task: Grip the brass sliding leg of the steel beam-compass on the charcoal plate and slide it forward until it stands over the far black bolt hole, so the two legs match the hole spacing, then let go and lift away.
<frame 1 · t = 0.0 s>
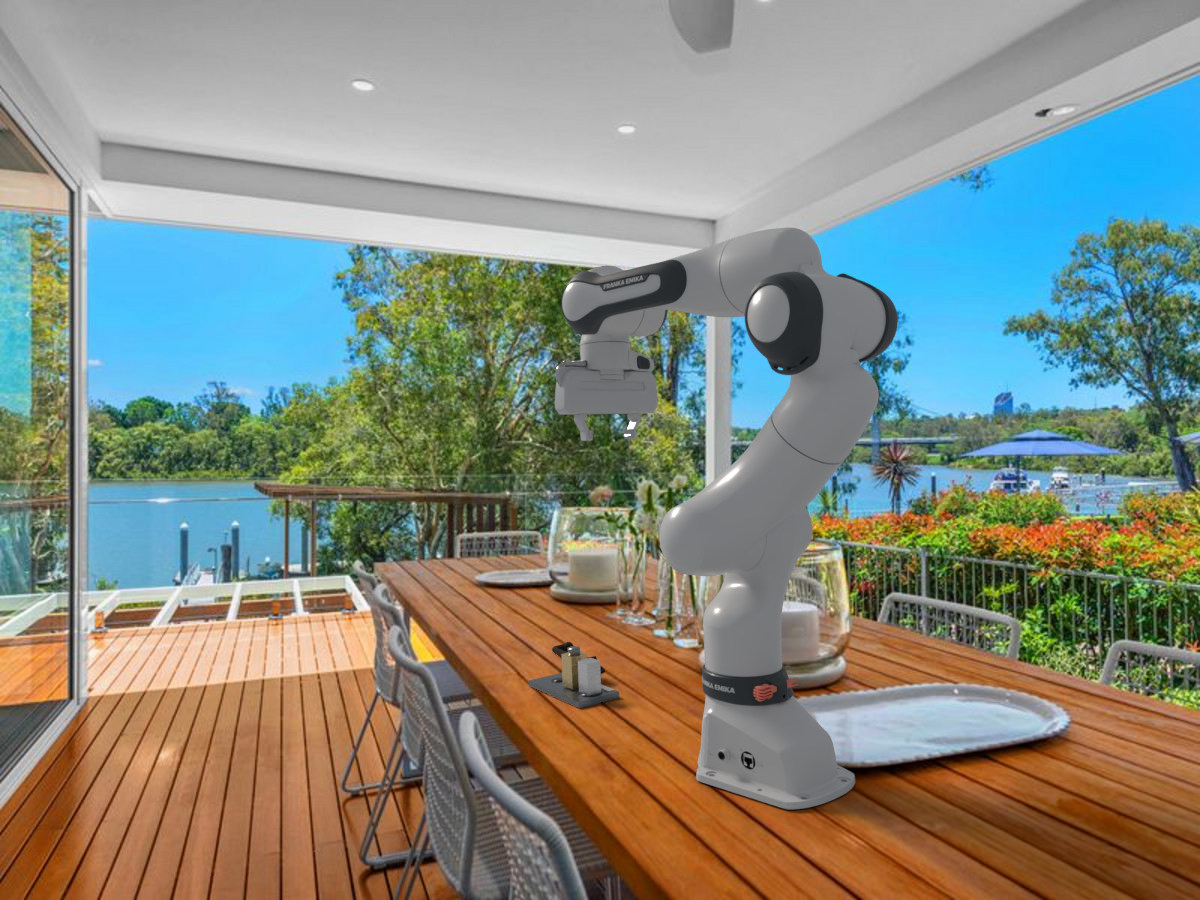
hand: (609, 440, 139), 48 cm above the table, tool pointing down, fingers open, 8 cm apart
wrench: (582, 668, 170), on the table
sliding leg: (574, 666, 151), point 5 cm above the table, slide at 0.0 cm
bolt plate: (572, 692, 152), on the table
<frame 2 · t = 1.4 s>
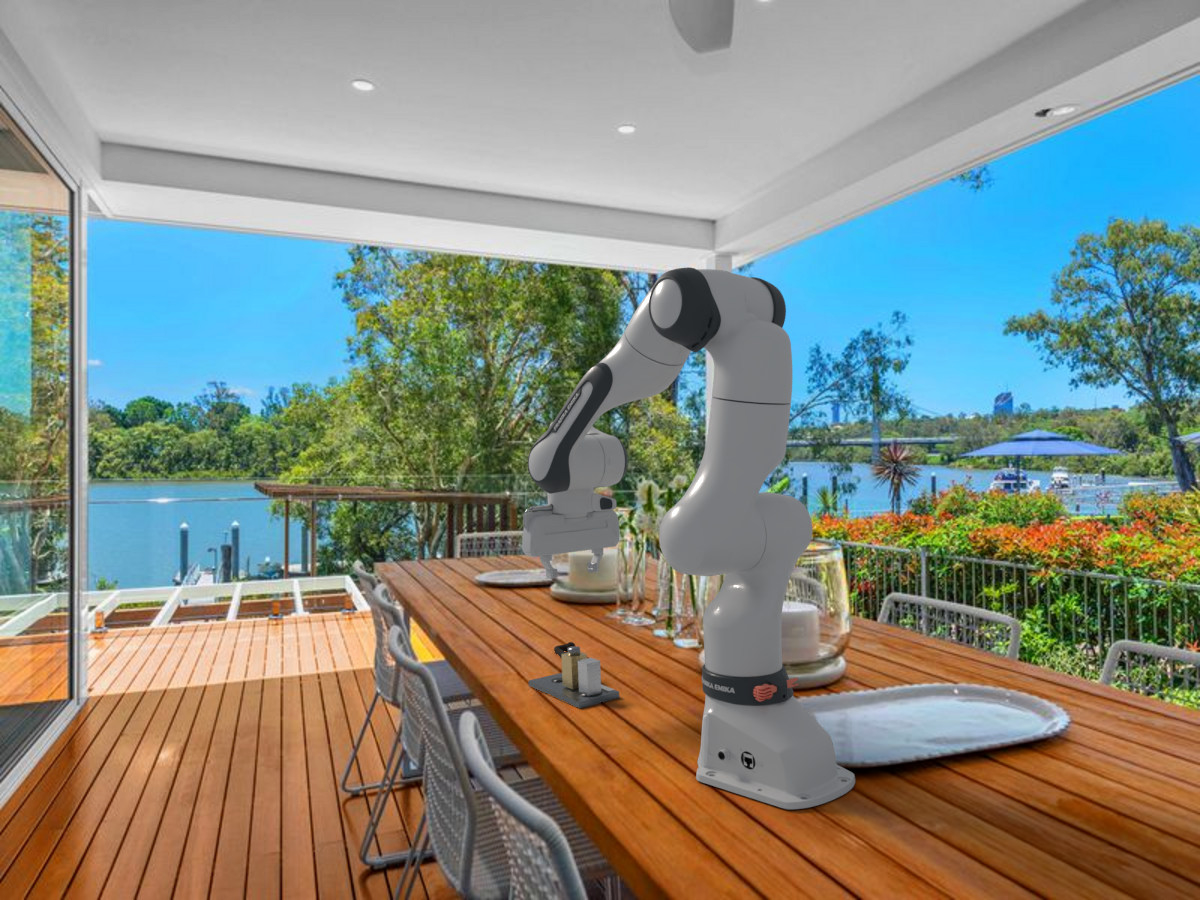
hand: (572, 575, 150), 23 cm above the table, tool pointing down, fingers open, 8 cm apart
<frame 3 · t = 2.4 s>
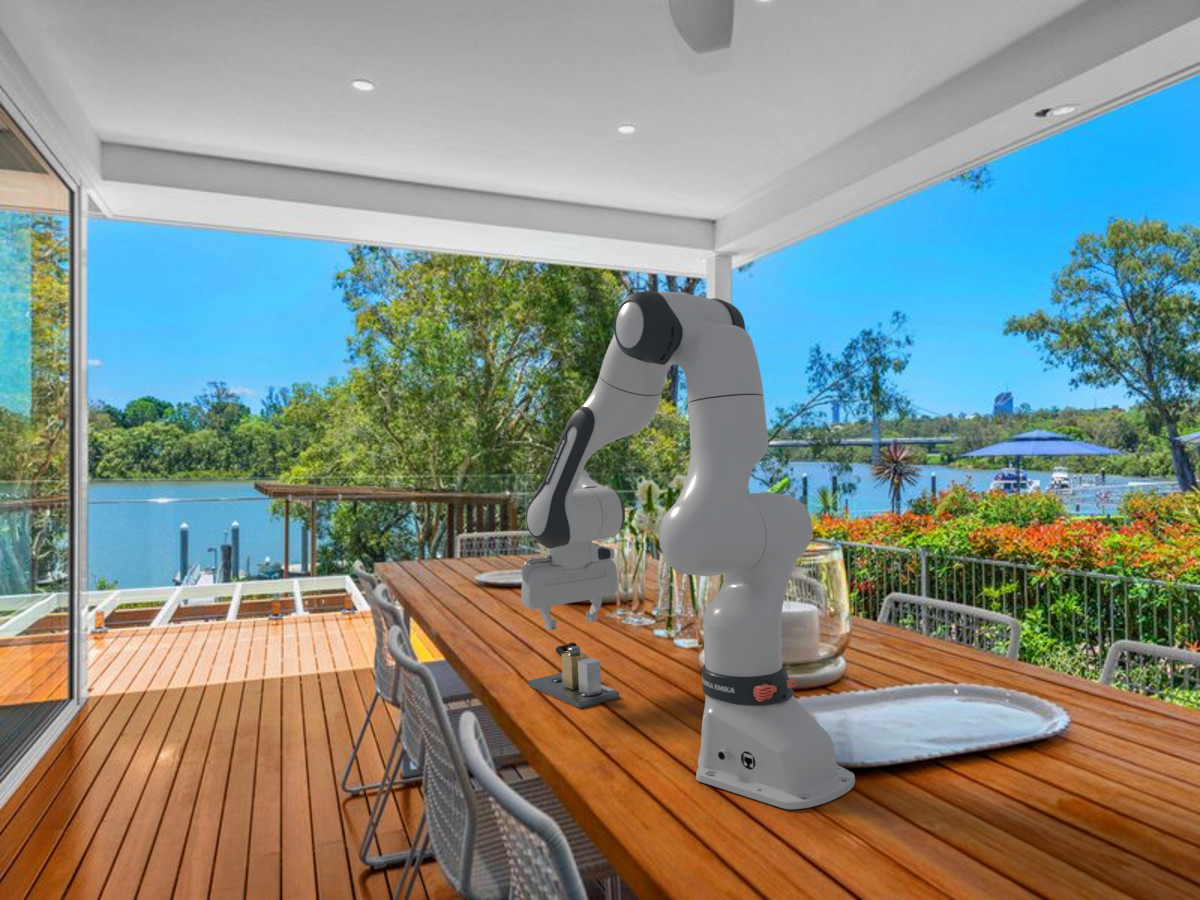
hand: (571, 625, 151), 13 cm above the table, tool pointing down, fingers open, 8 cm apart
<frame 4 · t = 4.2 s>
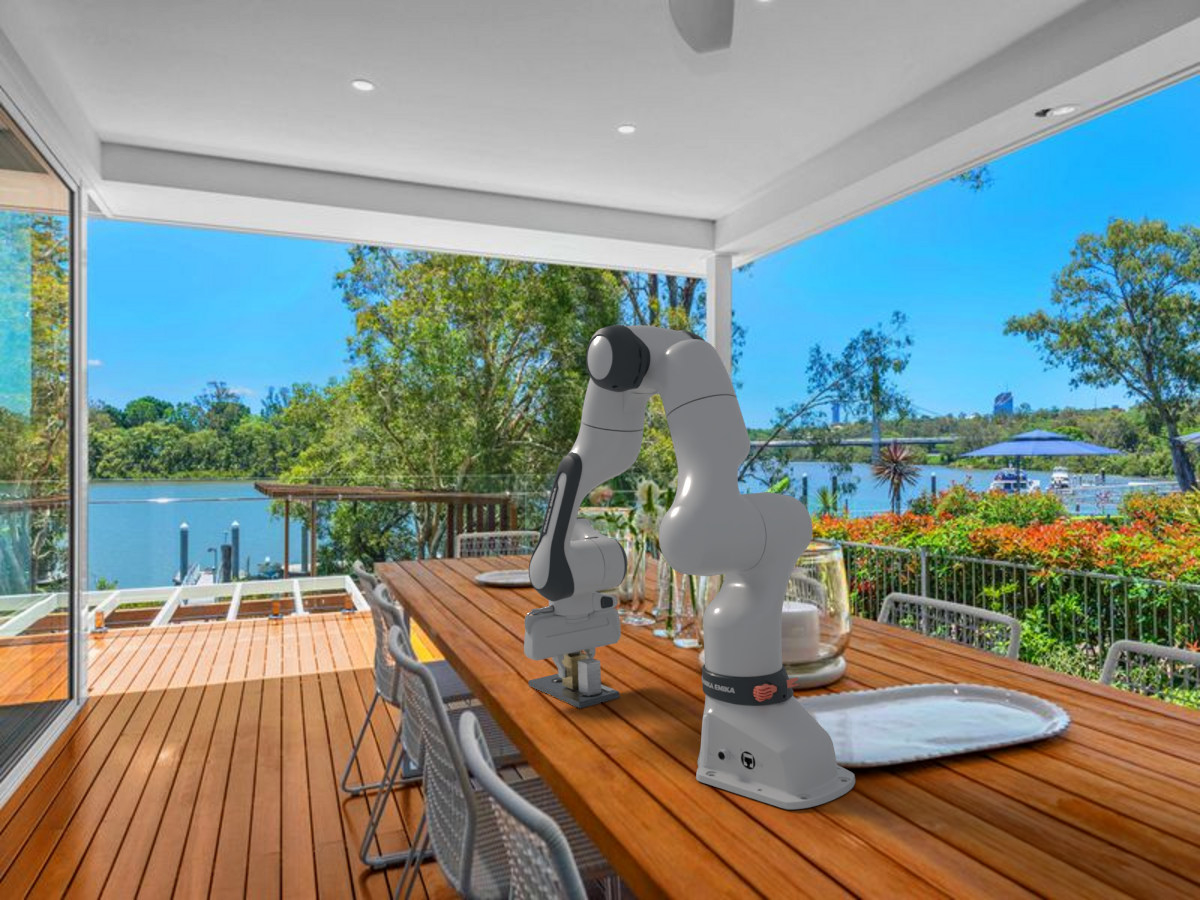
hand: (574, 674, 151), 4 cm above the table, tool pointing down, fingers closed on sliding leg, 3 cm apart
sliding leg: (574, 666, 151), point 5 cm above the table, slide at 0.0 cm, touching gripper
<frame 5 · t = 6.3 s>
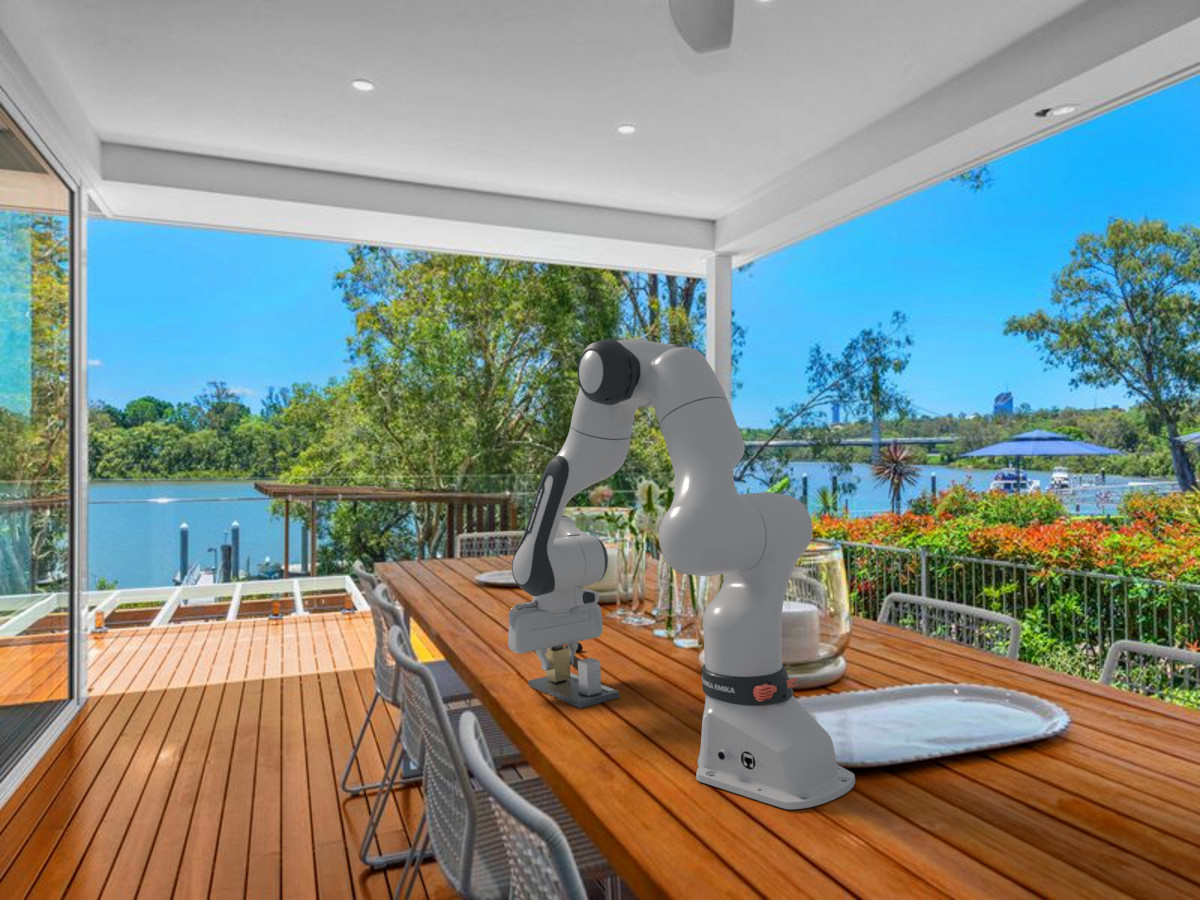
hand: (557, 667, 156), 4 cm above the table, tool pointing down, fingers closed on sliding leg, 3 cm apart
sliding leg: (557, 660, 156), point 5 cm above the table, slide at 6.1 cm, touching gripper
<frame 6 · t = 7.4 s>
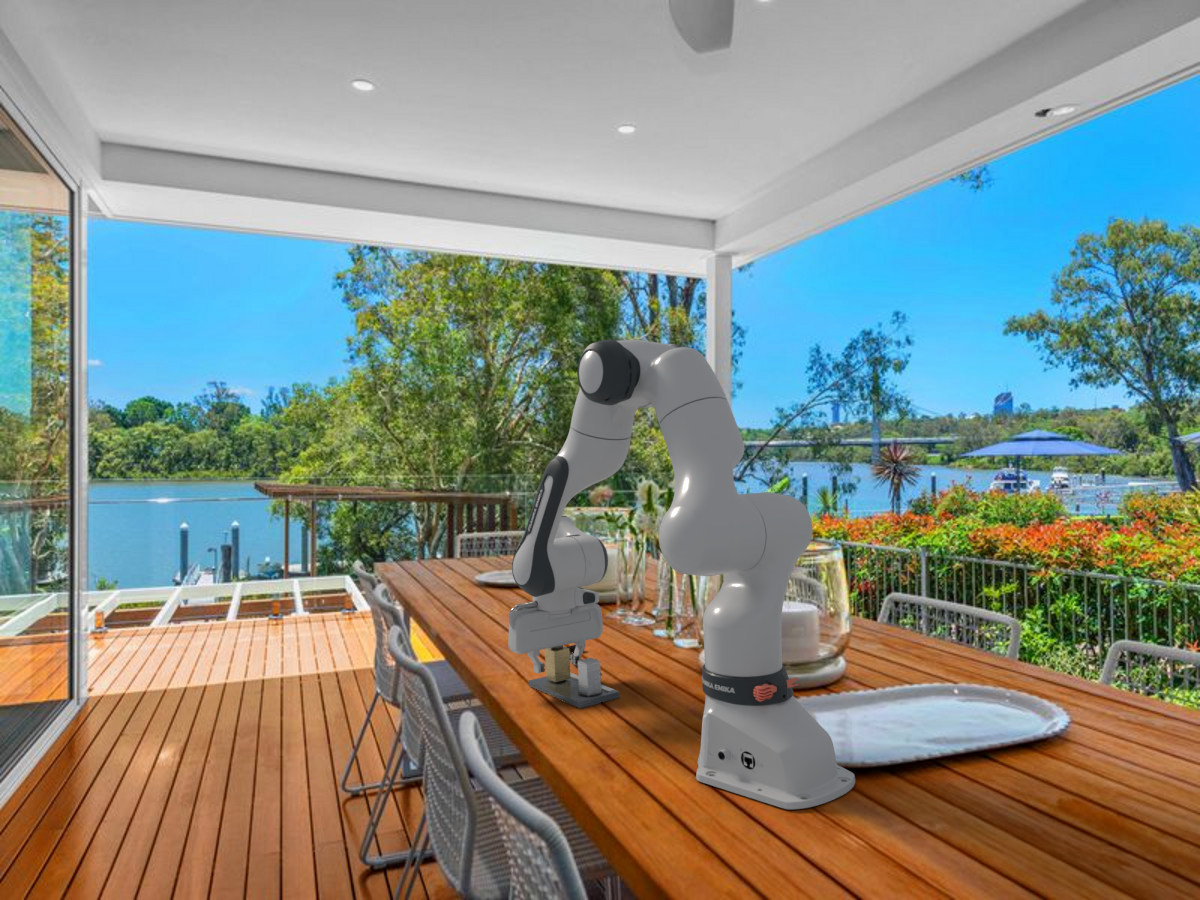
hand: (558, 667, 156), 4 cm above the table, tool pointing down, fingers open, 7 cm apart
sliding leg: (557, 660, 156), point 5 cm above the table, slide at 6.1 cm
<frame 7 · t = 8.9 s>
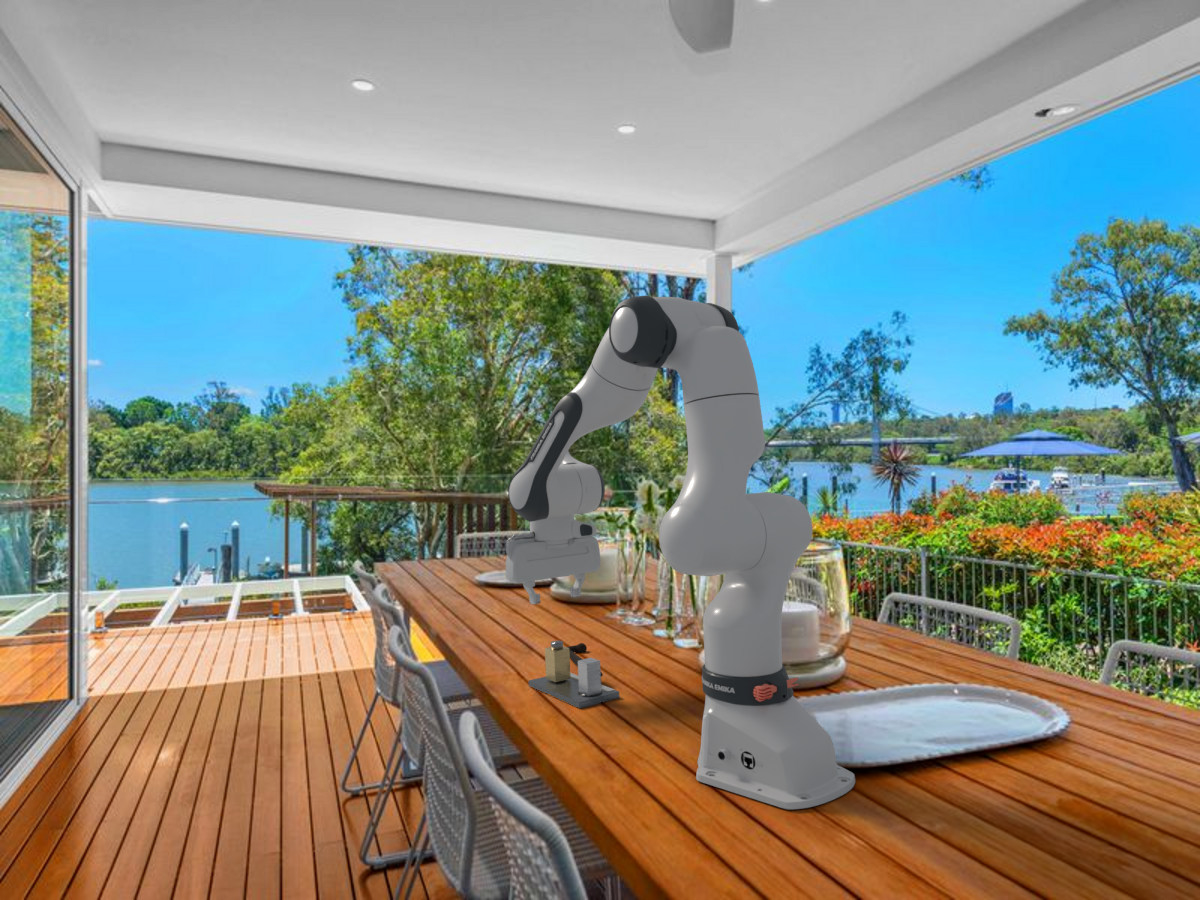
hand: (555, 600, 156), 17 cm above the table, tool pointing down, fingers open, 8 cm apart
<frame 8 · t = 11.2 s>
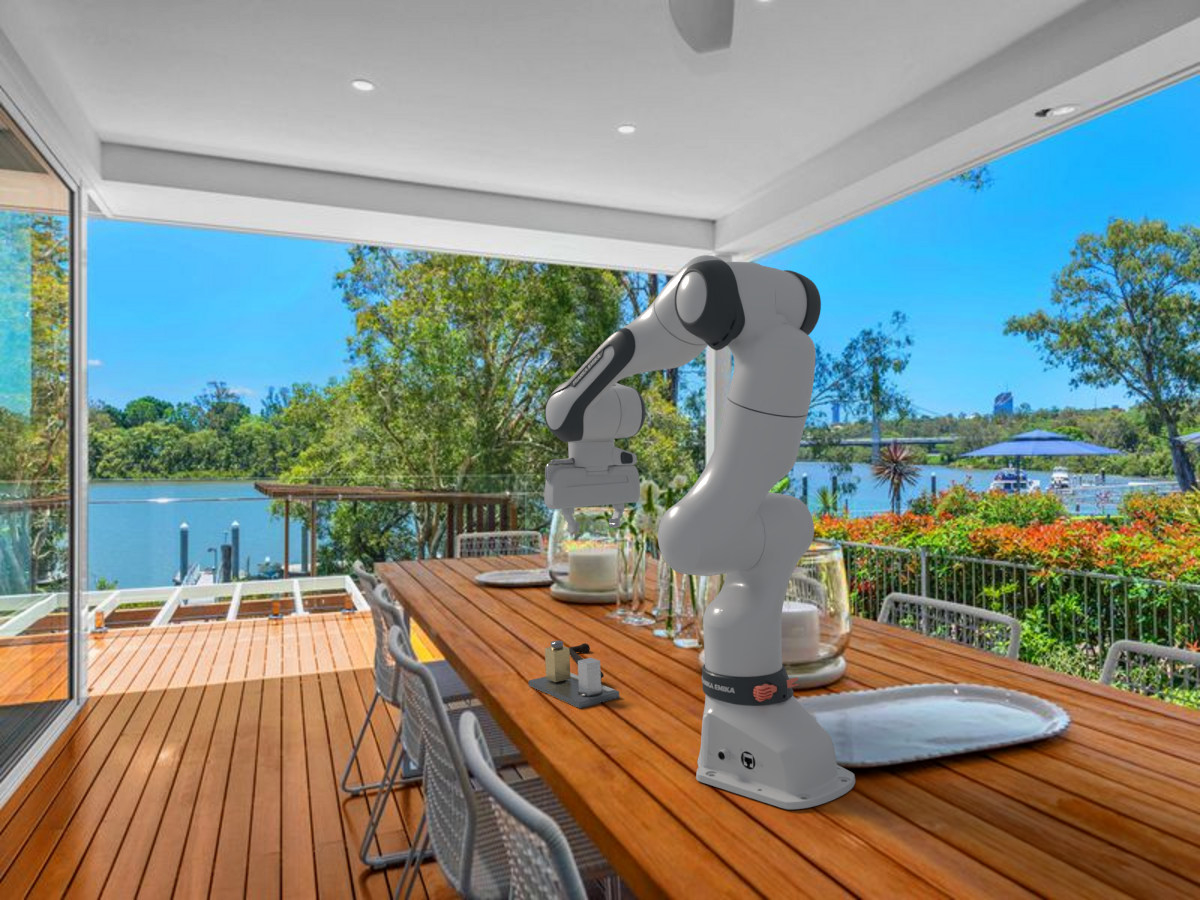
hand: (594, 529, 151), 31 cm above the table, tool pointing down, fingers open, 8 cm apart
at the end: sliding leg slide at 6.1 cm; the gripper is holding nothing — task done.
